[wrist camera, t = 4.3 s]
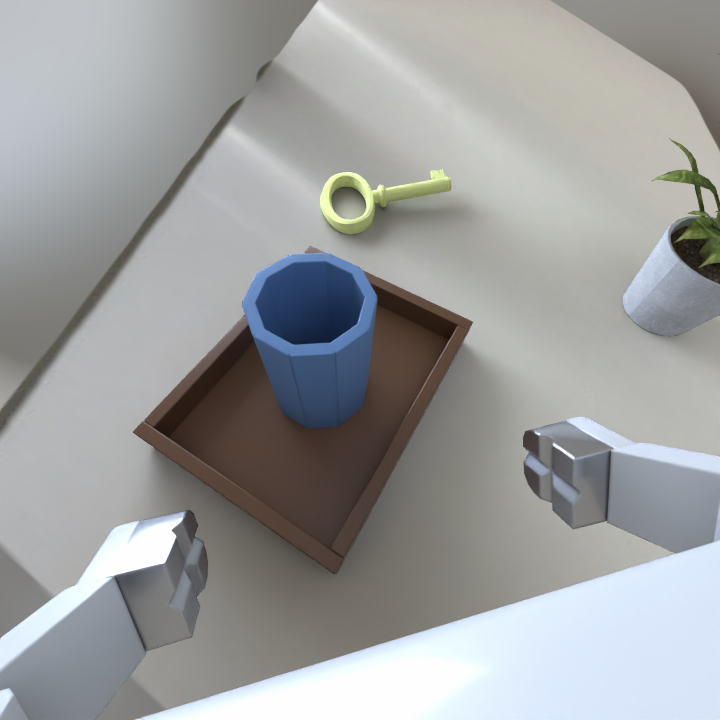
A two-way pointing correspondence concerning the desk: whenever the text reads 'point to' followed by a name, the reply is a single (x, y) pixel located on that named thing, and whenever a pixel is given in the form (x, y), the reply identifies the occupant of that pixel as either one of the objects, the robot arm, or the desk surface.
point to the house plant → (680, 268)
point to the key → (375, 197)
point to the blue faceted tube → (314, 335)
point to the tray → (303, 445)
